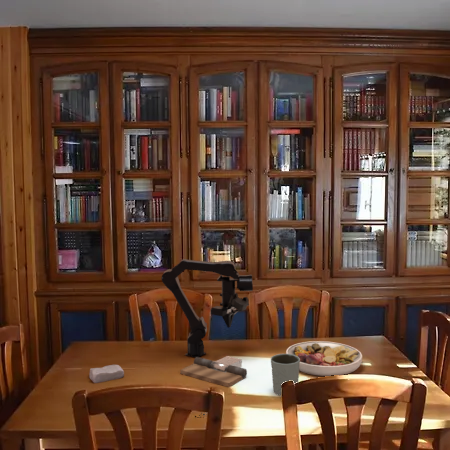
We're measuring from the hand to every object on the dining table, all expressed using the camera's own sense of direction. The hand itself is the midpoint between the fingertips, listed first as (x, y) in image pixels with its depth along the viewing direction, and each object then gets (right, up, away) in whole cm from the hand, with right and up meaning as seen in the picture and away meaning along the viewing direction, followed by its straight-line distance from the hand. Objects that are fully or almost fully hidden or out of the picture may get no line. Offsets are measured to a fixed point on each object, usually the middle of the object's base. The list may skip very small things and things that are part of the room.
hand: (228, 327), depth 216 cm
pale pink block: (-1, -14, -15) cm, 20 cm away
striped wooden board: (-7, -14, -22) cm, 27 cm away
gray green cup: (+20, -15, -37) cm, 45 cm away
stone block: (-47, -15, -21) cm, 54 cm away
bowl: (+38, -13, -11) cm, 42 cm away
